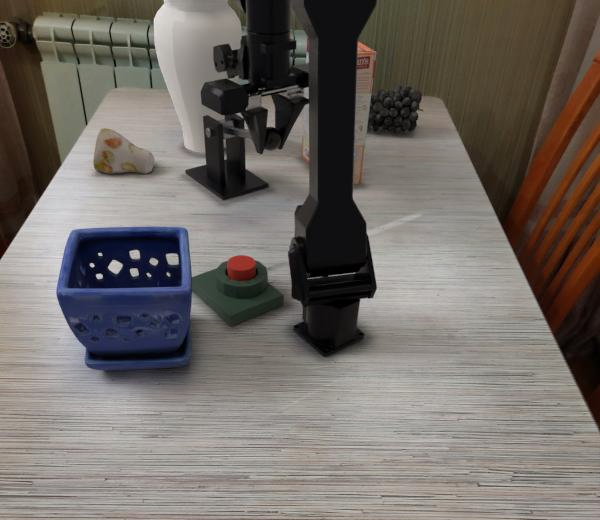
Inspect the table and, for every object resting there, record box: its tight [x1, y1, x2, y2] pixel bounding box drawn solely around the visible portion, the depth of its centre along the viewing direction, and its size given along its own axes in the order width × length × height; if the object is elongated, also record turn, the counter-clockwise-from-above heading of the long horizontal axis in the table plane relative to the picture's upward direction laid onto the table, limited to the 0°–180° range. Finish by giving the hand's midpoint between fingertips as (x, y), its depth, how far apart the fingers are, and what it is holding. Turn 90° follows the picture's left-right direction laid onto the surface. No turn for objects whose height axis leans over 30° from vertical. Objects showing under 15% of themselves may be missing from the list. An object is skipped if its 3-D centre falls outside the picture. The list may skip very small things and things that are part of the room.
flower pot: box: [55, 226, 193, 371], centre depth 67 cm, size 13×13×12 cm
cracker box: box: [301, 36, 377, 185], centre depth 100 cm, size 14×6×21 cm, turn 22°
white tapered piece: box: [92, 127, 155, 175], centre depth 102 cm, size 8×10×10 cm
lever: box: [217, 119, 281, 151], centre depth 92 cm, size 16×3×3 cm, turn 37°
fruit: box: [367, 85, 424, 135], centre depth 120 cm, size 9×8×15 cm
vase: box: [153, 0, 243, 154], centre depth 103 cm, size 15×15×29 cm
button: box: [226, 254, 256, 281], centre depth 76 cm, size 4×4×2 cm
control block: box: [192, 259, 284, 327], centre depth 78 cm, size 10×8×4 cm
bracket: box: [184, 113, 269, 201], centre depth 99 cm, size 12×9×11 cm
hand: (269, 151), depth 89 cm, fingers closed on lever, 3 cm apart
